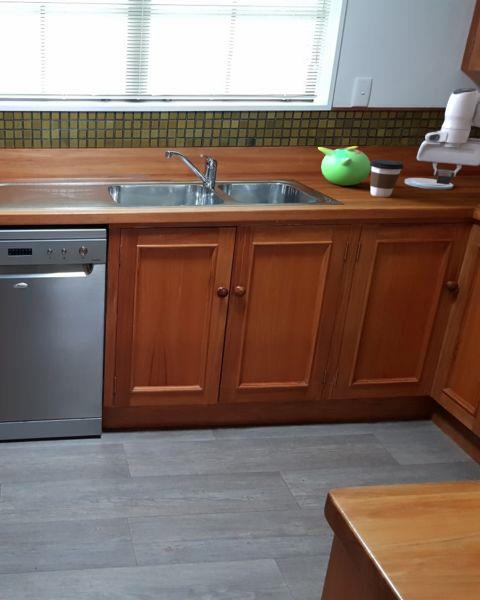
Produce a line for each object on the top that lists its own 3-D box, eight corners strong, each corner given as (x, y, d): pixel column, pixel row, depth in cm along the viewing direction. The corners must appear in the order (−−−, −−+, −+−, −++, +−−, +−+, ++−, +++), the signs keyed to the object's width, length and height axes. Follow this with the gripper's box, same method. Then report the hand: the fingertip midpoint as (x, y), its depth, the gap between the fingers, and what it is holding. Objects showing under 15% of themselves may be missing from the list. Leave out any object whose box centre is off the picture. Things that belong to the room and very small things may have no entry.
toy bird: (375, 188, 231) (384, 148, 225) (343, 191, 224) (351, 151, 218) (338, 178, 246) (345, 141, 240) (307, 181, 239) (314, 143, 233)
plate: (453, 183, 242) (454, 180, 242) (452, 191, 229) (453, 188, 228) (406, 178, 250) (406, 175, 249) (402, 185, 236) (403, 182, 236)
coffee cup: (397, 194, 222) (405, 161, 218) (395, 200, 213) (403, 166, 209) (365, 190, 227) (372, 158, 222) (362, 196, 218) (369, 162, 213)
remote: (437, 176, 227) (439, 168, 226) (449, 177, 225) (451, 169, 224) (436, 183, 216) (438, 174, 215) (449, 184, 214) (451, 175, 213)
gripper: (488, 138, 212) (477, 177, 218) (422, 133, 222) (413, 171, 227) (488, 140, 207) (477, 180, 213) (421, 135, 217) (412, 174, 222)
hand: (444, 175), depth 220 cm, fingers closed on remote, 4 cm apart
